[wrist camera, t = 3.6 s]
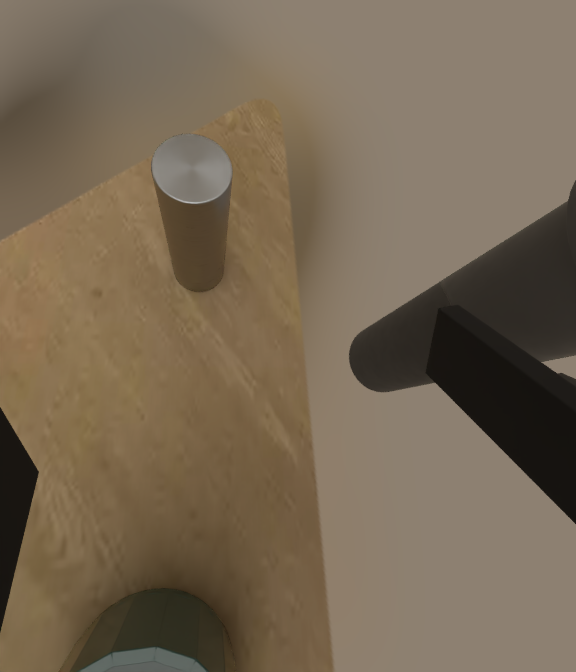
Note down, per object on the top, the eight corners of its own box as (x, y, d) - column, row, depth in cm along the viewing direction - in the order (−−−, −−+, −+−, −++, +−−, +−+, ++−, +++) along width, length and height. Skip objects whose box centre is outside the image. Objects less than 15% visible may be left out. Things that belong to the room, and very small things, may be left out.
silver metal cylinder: (212, 240, 30) (215, 125, 19) (230, 282, 30) (244, 191, 18) (166, 255, 29) (138, 143, 18) (184, 298, 29) (168, 213, 17)
